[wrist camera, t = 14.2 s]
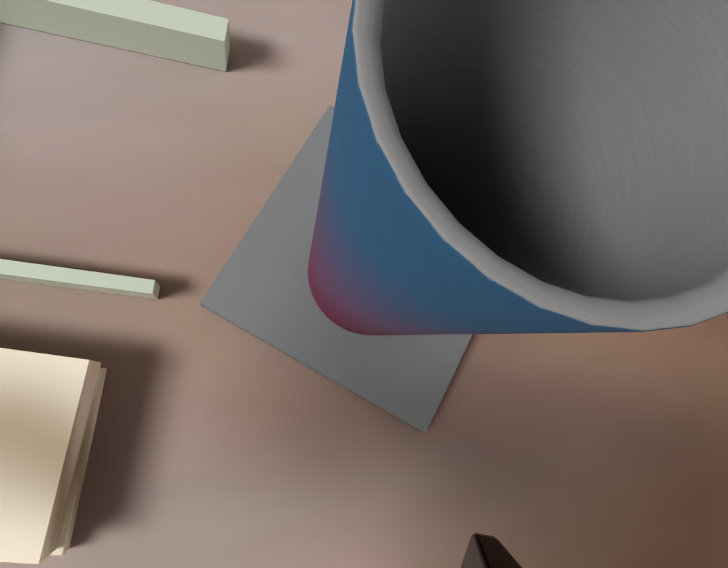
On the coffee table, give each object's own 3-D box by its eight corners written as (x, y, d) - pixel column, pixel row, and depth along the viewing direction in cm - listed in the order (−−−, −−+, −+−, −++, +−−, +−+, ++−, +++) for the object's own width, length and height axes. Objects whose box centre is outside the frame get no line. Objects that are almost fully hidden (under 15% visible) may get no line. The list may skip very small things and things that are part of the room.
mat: (421, 431, 21) (425, 433, 20) (201, 305, 20) (199, 303, 19) (517, 230, 24) (523, 227, 23) (328, 111, 23) (330, 104, 22)
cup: (429, 182, 22) (753, -170, 8) (465, 339, 21) (905, 276, 7) (270, 204, 21) (299, -182, 6) (302, 374, 20) (426, 389, 5)
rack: (129, 616, 17) (116, 645, 16) (-289, 611, 15) (-365, 642, 13) (229, 51, 22) (228, 19, 20) (-77, -19, 20) (-111, -62, 18)
